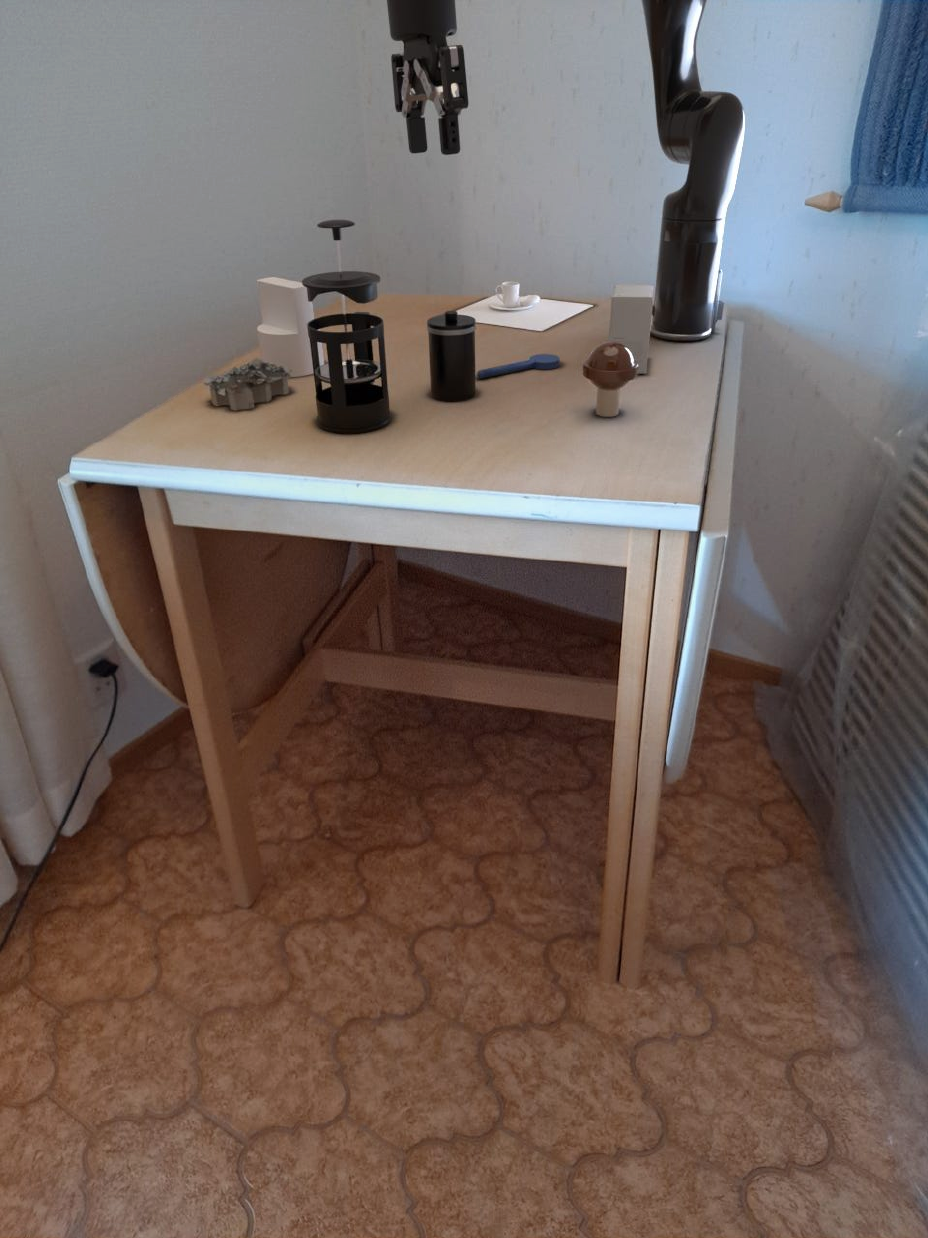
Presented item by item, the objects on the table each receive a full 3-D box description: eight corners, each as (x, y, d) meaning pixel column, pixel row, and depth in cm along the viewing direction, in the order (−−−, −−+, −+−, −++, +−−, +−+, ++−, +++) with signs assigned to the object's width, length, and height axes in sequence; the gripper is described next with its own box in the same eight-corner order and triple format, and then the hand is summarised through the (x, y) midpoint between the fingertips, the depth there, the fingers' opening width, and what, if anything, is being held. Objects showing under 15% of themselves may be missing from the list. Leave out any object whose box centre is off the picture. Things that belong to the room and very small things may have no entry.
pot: (461, 383, 120) (459, 303, 114) (485, 396, 115) (485, 313, 109) (421, 392, 117) (417, 310, 111) (445, 405, 112) (442, 320, 106)
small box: (646, 375, 121) (653, 297, 115) (605, 373, 122) (611, 296, 116) (647, 358, 127) (654, 283, 122) (609, 357, 128) (614, 283, 123)
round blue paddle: (547, 358, 129) (547, 350, 128) (565, 365, 125) (565, 357, 125) (469, 375, 123) (469, 367, 122) (486, 383, 119) (486, 374, 119)
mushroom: (610, 400, 112) (615, 332, 108) (644, 415, 108) (651, 343, 103) (570, 410, 109) (573, 340, 105) (603, 426, 105) (608, 353, 100)
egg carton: (240, 414, 111) (234, 383, 109) (202, 403, 115) (196, 373, 113) (299, 391, 118) (295, 361, 116) (261, 381, 122) (257, 352, 120)
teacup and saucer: (544, 305, 156) (545, 281, 154) (523, 314, 151) (523, 290, 148) (502, 300, 160) (502, 276, 158) (480, 309, 155) (480, 285, 152)
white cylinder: (250, 369, 127) (237, 283, 121) (299, 355, 133) (289, 272, 126) (288, 381, 122) (276, 292, 116) (337, 366, 128) (328, 280, 121)
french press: (376, 438, 103) (359, 228, 90) (303, 433, 105) (276, 227, 92) (405, 405, 112) (393, 212, 100) (337, 401, 114) (317, 211, 102)
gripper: (481, -24, 90) (491, 151, 99) (421, -8, 101) (435, 148, 110) (417, -21, 88) (433, 158, 96) (363, -5, 99) (381, 155, 107)
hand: (434, 153), depth 103 cm, fingers open, 8 cm apart
